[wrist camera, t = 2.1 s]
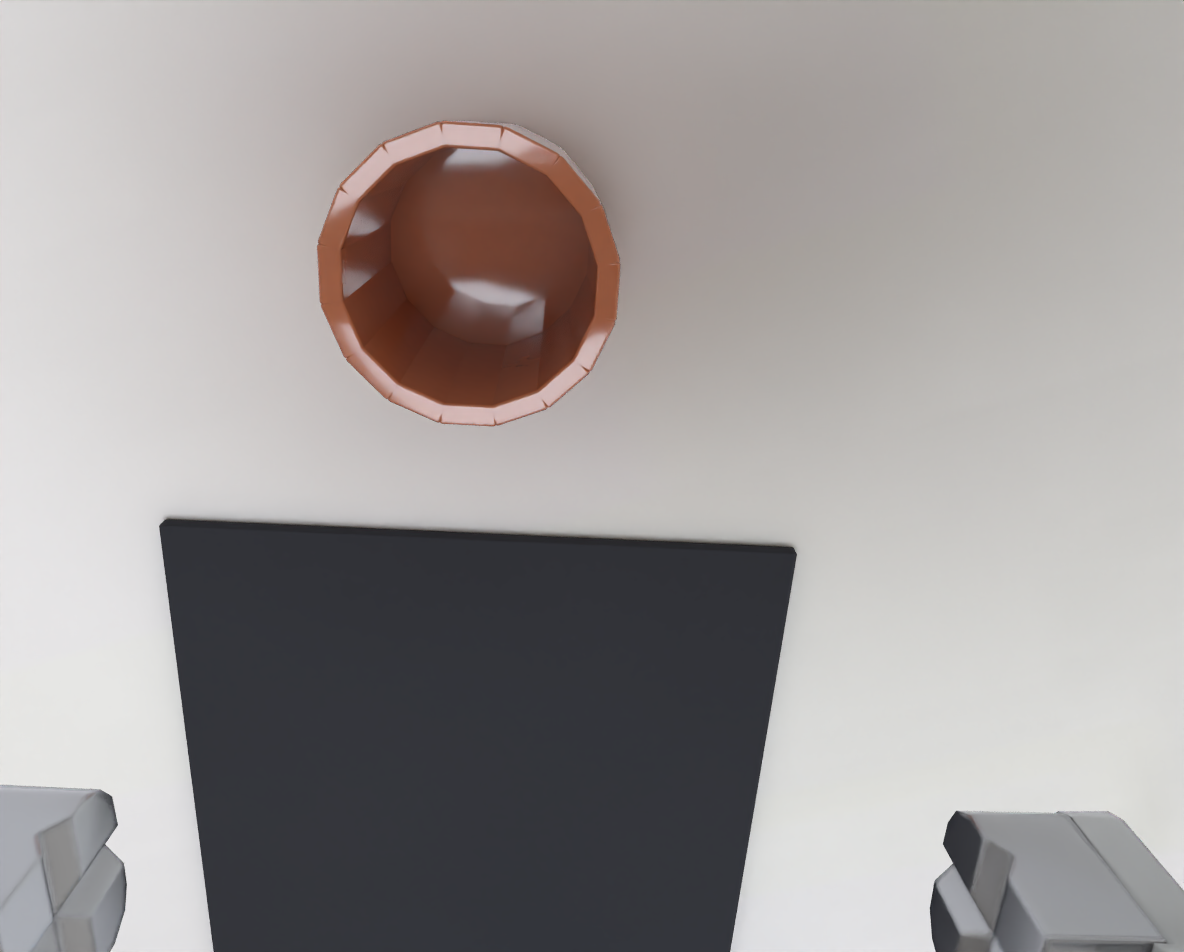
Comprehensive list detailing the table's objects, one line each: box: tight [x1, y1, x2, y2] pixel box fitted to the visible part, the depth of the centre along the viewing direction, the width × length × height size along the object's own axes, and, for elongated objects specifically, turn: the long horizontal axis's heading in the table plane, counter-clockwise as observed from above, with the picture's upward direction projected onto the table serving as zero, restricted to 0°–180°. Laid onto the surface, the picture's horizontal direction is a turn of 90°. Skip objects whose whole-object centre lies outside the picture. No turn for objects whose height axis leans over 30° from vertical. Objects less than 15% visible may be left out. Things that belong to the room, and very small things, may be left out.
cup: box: [317, 121, 621, 426], centre depth 22 cm, size 6×6×6 cm
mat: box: [159, 520, 797, 952], centre depth 32 cm, size 20×20×1 cm
